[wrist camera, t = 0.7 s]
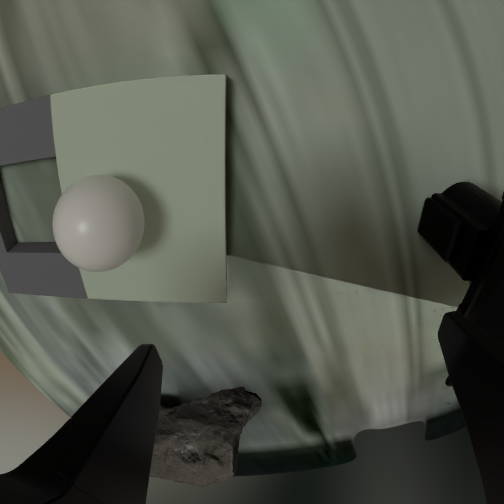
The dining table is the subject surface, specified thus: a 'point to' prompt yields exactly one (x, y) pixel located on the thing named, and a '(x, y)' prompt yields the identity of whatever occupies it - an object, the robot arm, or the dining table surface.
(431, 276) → the dining table surface
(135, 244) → the ball
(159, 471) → the stone
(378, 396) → the dining table surface
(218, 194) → the panel
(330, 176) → the dining table surface
